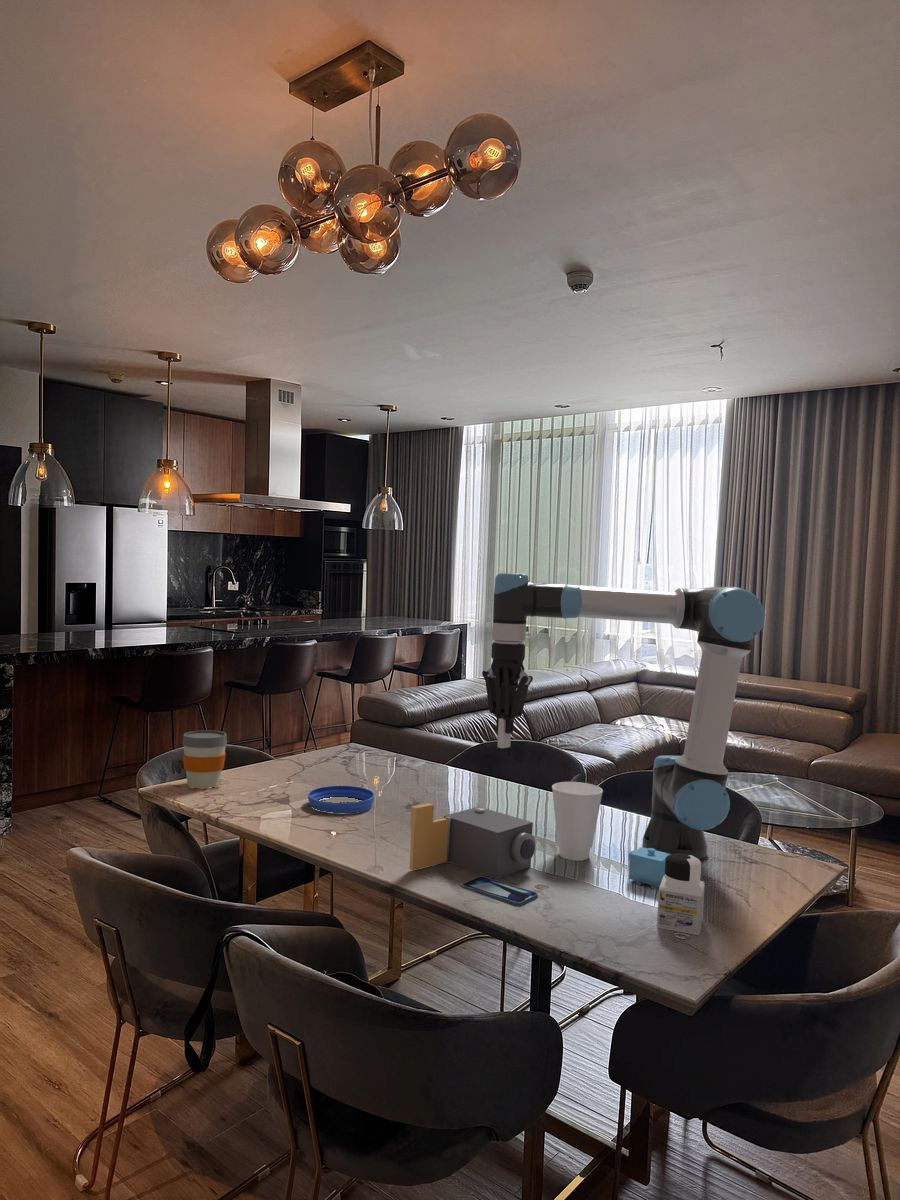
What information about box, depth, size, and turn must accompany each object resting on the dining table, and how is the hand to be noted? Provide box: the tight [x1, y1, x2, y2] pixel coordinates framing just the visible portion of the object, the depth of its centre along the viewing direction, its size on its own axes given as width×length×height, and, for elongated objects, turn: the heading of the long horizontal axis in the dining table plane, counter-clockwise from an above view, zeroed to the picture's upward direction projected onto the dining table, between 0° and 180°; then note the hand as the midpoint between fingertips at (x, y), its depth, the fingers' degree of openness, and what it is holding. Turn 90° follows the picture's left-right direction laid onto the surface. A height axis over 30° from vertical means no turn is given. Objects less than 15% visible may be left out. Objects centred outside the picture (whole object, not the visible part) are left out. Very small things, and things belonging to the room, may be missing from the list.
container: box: [656, 853, 705, 936], centre depth 158 cm, size 8×8×13 cm
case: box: [443, 806, 536, 880], centre depth 186 cm, size 18×12×11 cm, turn 47°
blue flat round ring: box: [307, 785, 375, 814], centre depth 229 cm, size 18×18×4 cm
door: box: [409, 802, 451, 871], centre depth 183 cm, size 11×2×14 cm, turn 131°
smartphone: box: [461, 876, 539, 907], centre depth 171 cm, size 7×1×15 cm
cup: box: [551, 781, 604, 862], centre depth 195 cm, size 12×12×16 cm
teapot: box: [628, 846, 671, 890], centre depth 179 cm, size 12×6×8 cm, turn 54°
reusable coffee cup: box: [182, 729, 228, 789], centre depth 243 cm, size 13×13×15 cm
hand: (503, 747), depth 187 cm, fingers closed
